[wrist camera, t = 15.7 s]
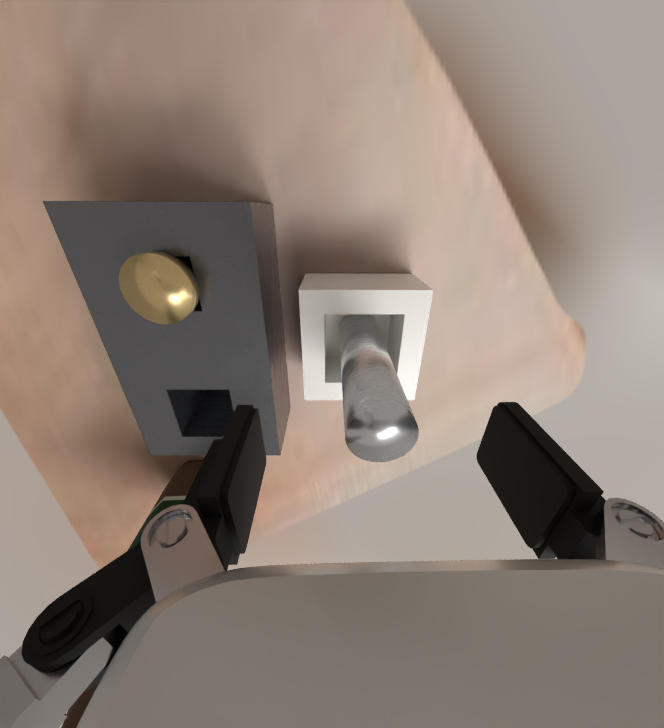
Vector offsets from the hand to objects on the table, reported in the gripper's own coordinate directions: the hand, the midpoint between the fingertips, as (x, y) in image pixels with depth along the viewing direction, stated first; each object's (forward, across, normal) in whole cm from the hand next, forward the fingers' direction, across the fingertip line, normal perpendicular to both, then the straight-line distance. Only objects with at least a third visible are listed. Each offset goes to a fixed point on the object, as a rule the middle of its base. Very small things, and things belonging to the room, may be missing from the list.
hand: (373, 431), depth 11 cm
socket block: (+13, +10, 0) cm, 17 cm away
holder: (+13, 0, 0) cm, 13 cm away
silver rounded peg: (+12, 0, 0) cm, 12 cm away
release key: (+12, +10, -4) cm, 17 cm away
